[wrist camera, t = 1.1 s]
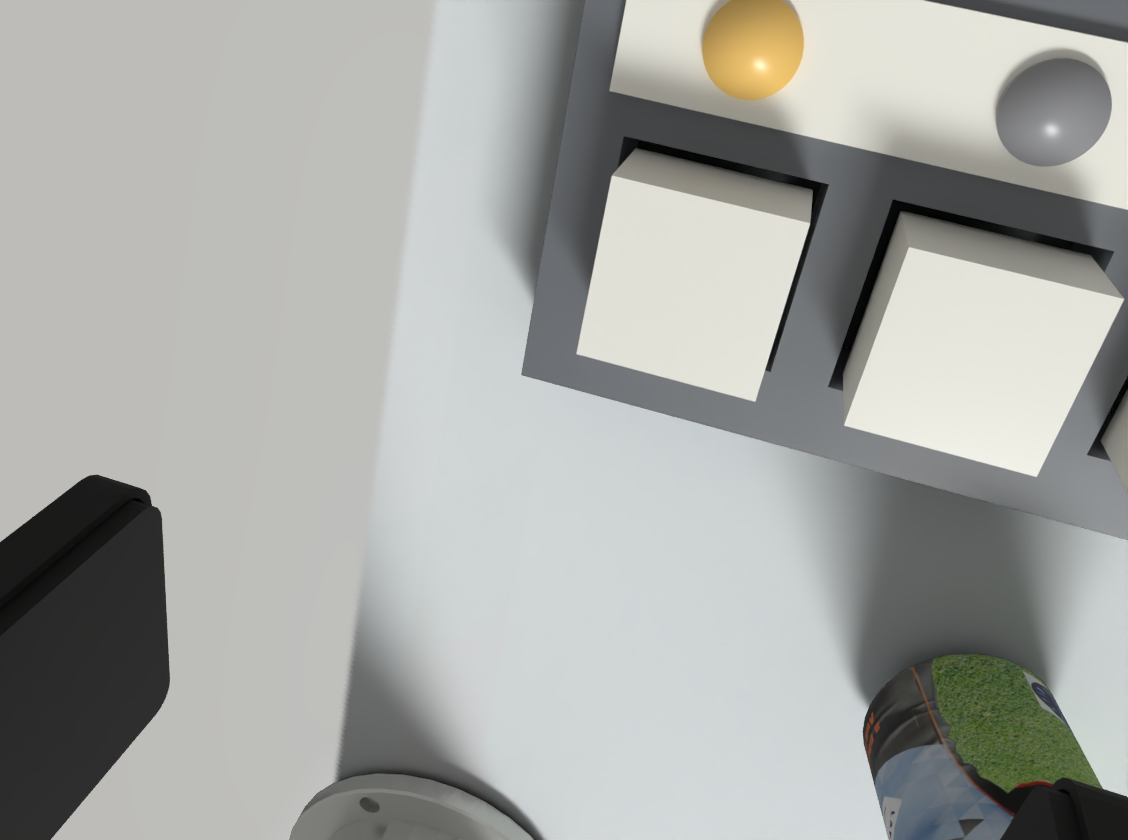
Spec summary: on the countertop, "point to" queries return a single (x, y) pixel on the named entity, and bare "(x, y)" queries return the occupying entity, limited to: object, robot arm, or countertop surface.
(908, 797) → the beverage can
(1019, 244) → the middle key
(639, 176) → the left key
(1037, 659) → the countertop surface
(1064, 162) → the board
